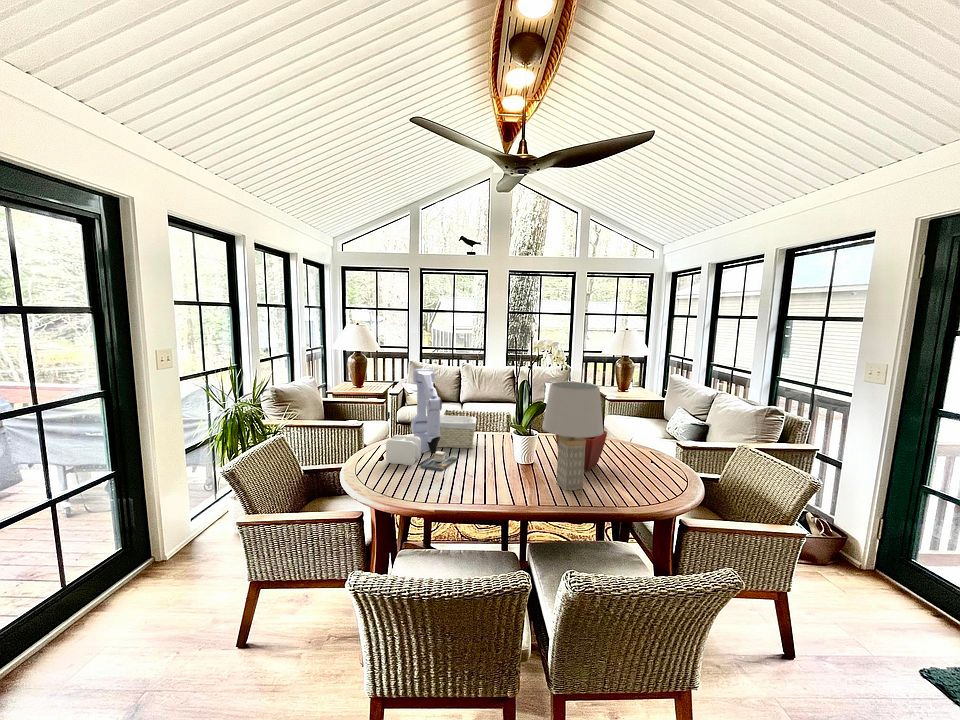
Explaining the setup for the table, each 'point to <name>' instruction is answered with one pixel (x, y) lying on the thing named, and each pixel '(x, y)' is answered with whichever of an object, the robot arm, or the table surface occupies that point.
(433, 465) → the panel
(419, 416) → the robot arm
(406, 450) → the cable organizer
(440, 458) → the white and orange block
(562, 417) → the lamp
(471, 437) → the storage basket
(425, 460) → the cords
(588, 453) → the plant pot
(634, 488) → the table surface
